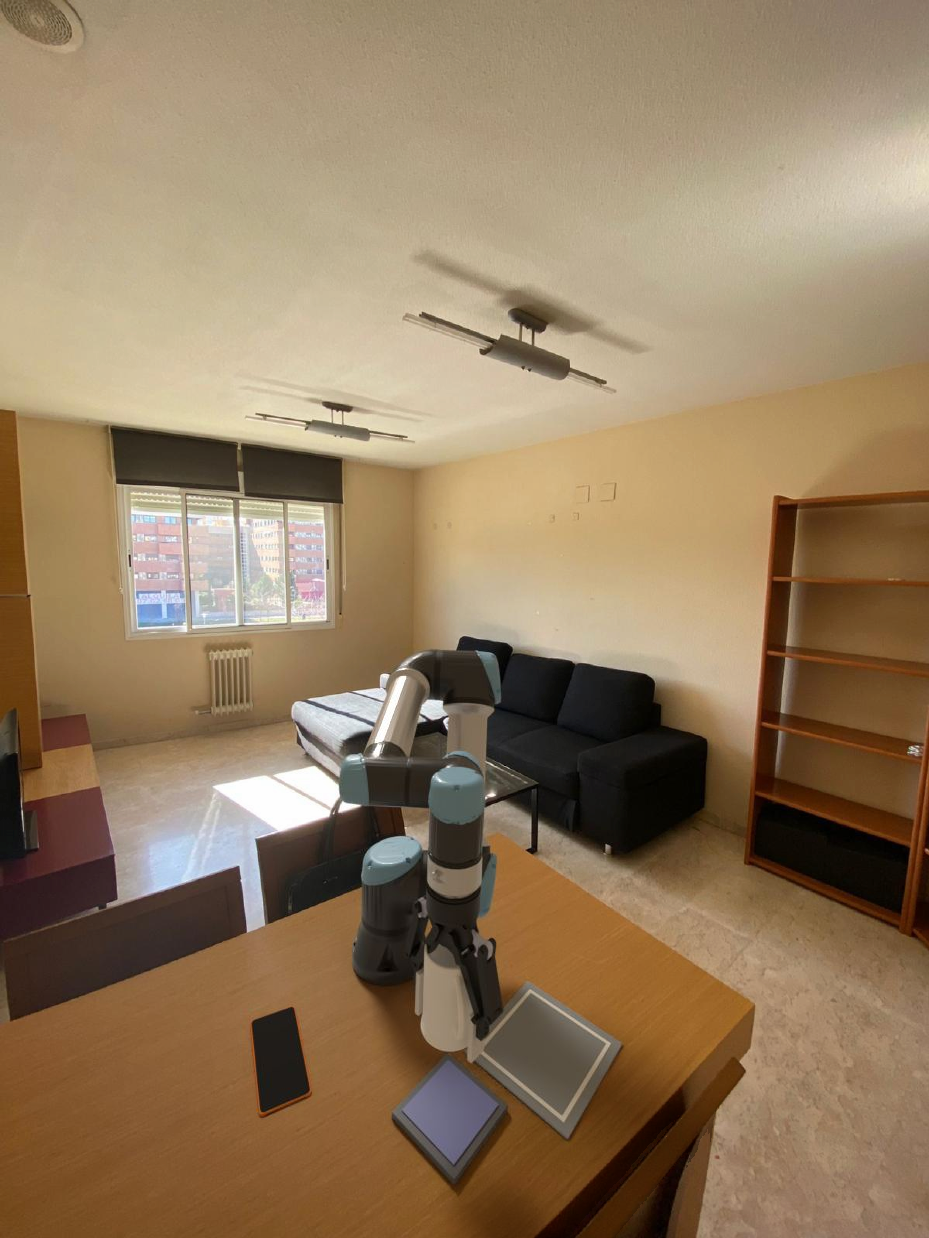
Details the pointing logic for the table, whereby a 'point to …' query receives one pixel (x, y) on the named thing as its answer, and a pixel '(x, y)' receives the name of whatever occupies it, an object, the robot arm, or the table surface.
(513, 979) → the table surface
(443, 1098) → the ink pad
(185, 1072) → the table surface
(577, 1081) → the print mat
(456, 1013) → the mug
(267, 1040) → the smartphone
